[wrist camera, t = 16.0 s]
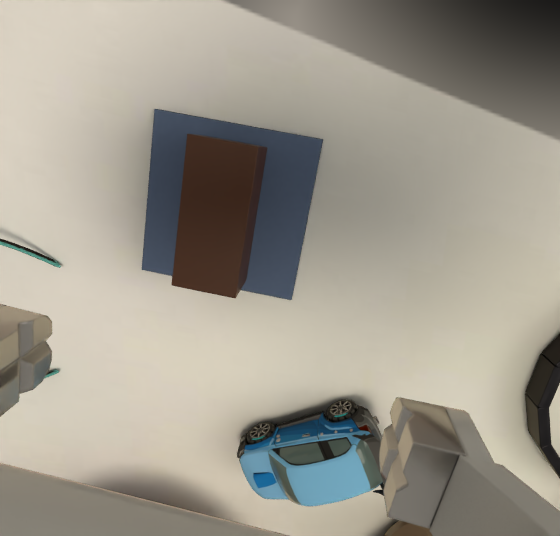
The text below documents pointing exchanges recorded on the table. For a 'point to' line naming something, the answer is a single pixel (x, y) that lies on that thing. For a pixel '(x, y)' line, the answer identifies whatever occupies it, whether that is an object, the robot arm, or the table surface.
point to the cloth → (271, 209)
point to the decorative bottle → (407, 530)
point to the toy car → (315, 456)
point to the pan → (544, 401)
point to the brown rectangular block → (217, 214)
